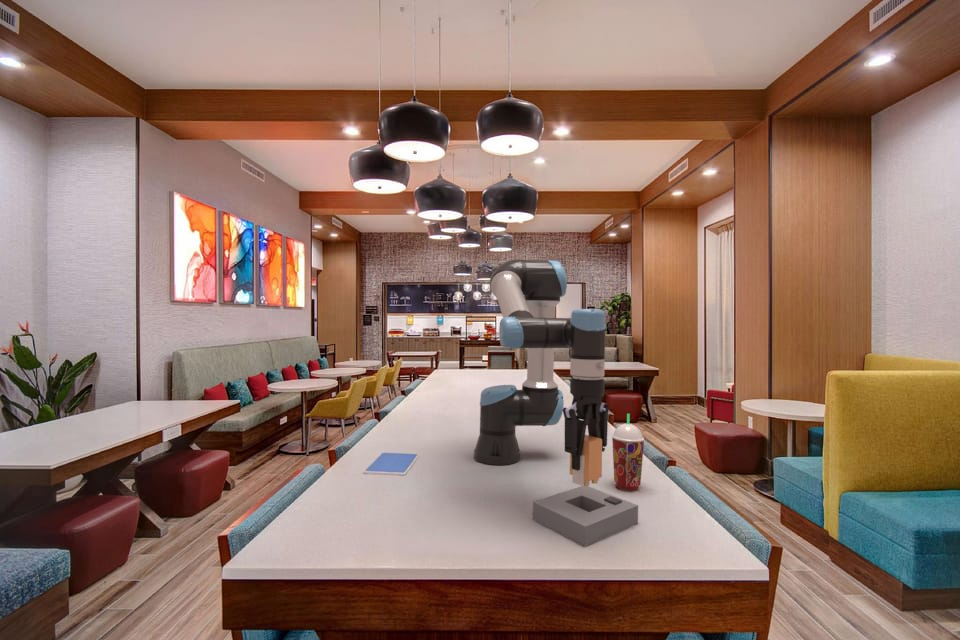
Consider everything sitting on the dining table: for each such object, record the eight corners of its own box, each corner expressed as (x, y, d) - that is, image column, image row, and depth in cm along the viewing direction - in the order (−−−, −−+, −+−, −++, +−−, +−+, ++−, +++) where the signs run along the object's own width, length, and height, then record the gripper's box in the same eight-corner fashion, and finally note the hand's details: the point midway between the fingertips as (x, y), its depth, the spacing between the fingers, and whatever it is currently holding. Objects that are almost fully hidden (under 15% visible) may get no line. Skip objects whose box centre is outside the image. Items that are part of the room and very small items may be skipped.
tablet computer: (382, 455, 148) (382, 451, 148) (419, 457, 148) (419, 453, 148) (362, 475, 129) (362, 471, 129) (405, 477, 128) (405, 473, 128)
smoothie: (645, 494, 117) (647, 417, 117) (612, 491, 119) (613, 416, 119) (640, 483, 125) (642, 411, 125) (610, 480, 127) (611, 410, 127)
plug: (569, 480, 102) (570, 436, 102) (582, 476, 104) (583, 433, 104) (588, 488, 97) (589, 441, 97) (601, 483, 100) (602, 438, 100)
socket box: (532, 519, 101) (533, 499, 101) (584, 500, 112) (585, 482, 112) (585, 546, 89) (585, 524, 89) (637, 523, 100) (638, 503, 100)
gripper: (574, 382, 93) (572, 495, 92) (625, 376, 103) (623, 478, 103) (547, 378, 99) (546, 484, 98) (598, 373, 109) (597, 469, 109)
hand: (585, 481), depth 101 cm, fingers closed on plug, 4 cm apart
